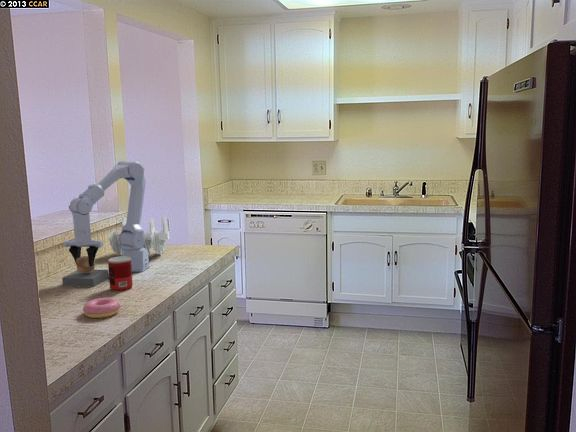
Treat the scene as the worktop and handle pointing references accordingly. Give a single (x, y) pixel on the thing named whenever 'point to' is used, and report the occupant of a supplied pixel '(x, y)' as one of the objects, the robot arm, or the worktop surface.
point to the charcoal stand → (85, 278)
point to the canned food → (120, 273)
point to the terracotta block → (84, 264)
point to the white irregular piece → (151, 238)
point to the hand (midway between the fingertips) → (85, 265)
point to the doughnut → (101, 307)
